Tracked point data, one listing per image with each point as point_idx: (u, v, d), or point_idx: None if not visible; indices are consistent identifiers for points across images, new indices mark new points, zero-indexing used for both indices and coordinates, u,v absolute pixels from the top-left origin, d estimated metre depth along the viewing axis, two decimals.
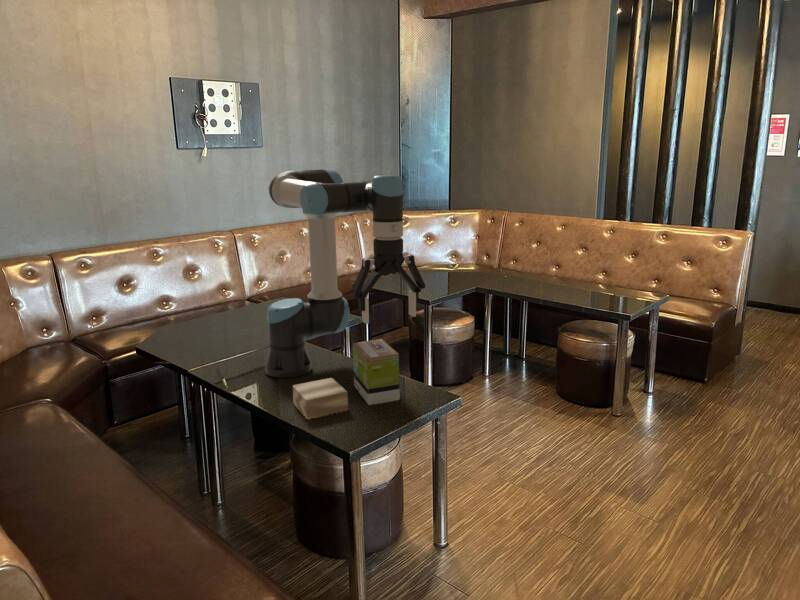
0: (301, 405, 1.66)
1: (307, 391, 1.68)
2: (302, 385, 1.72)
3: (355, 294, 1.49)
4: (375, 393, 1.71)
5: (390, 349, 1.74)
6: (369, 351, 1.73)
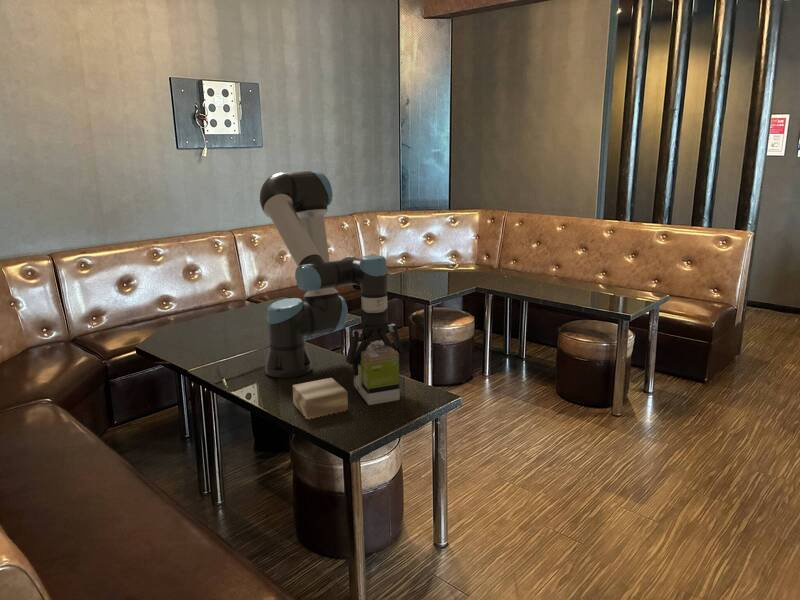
0: (301, 404, 1.66)
1: (307, 391, 1.68)
2: (302, 385, 1.72)
3: (349, 362, 1.72)
4: (375, 393, 1.71)
5: (390, 349, 1.74)
6: (369, 351, 1.73)
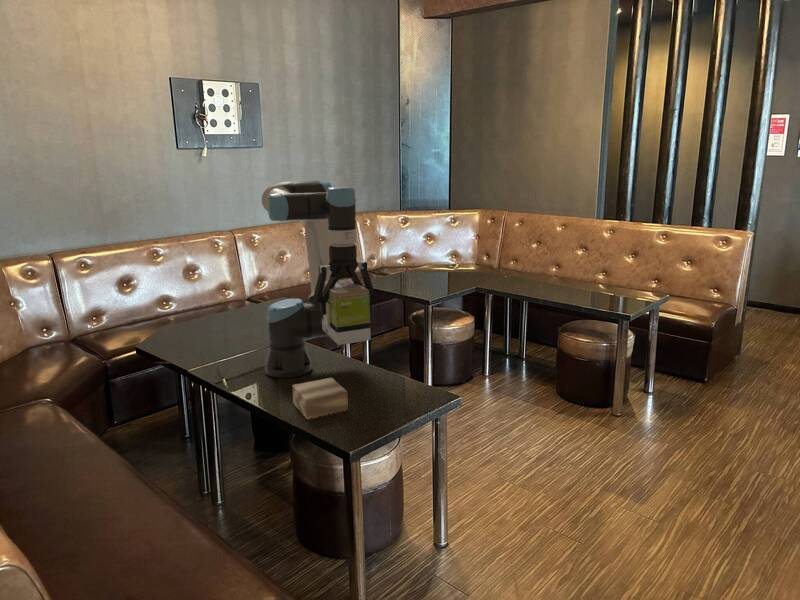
0: (301, 404, 1.66)
1: (307, 391, 1.68)
2: (302, 385, 1.72)
3: (317, 300, 1.62)
4: (345, 332, 1.62)
5: (360, 287, 1.65)
6: (338, 288, 1.63)
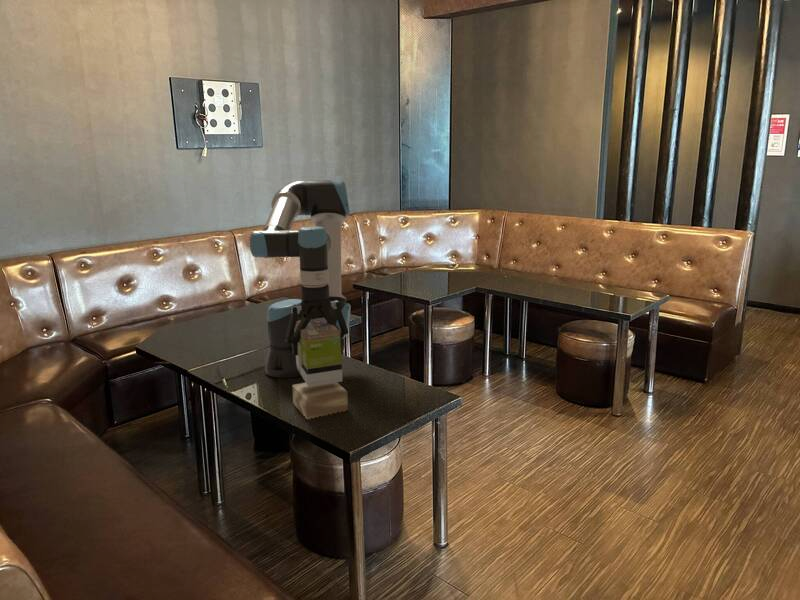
0: (301, 404, 1.66)
1: (307, 391, 1.68)
2: (302, 385, 1.72)
3: (288, 340, 1.61)
4: (315, 374, 1.60)
5: (332, 327, 1.63)
6: (309, 329, 1.62)
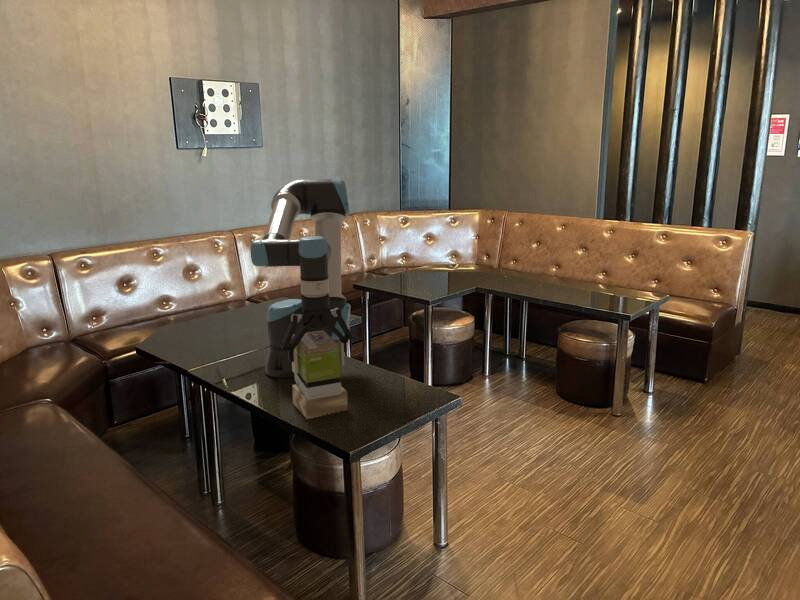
0: (301, 404, 1.67)
1: None
2: None
3: (283, 347, 1.61)
4: (315, 387, 1.61)
5: (330, 341, 1.64)
6: (308, 342, 1.63)
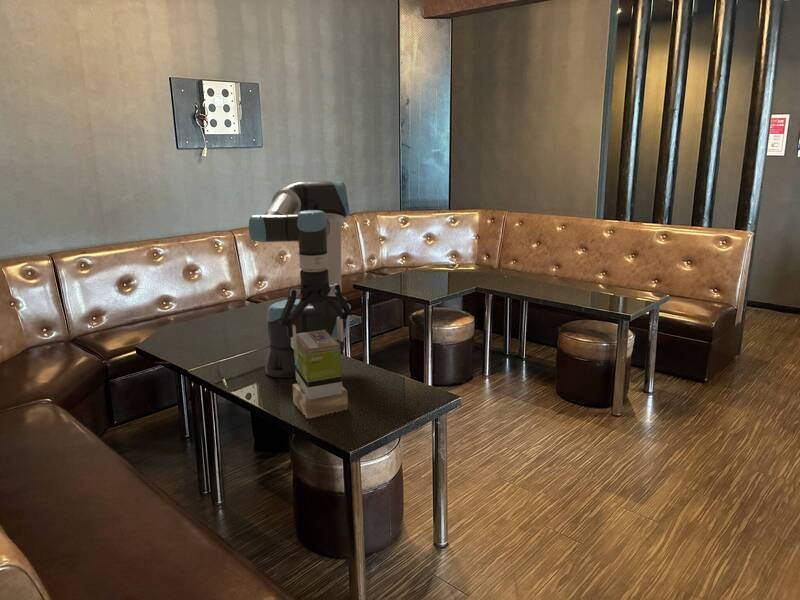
0: (301, 404, 1.67)
1: None
2: None
3: (282, 322, 1.59)
4: (316, 387, 1.62)
5: (331, 340, 1.64)
6: (309, 342, 1.63)
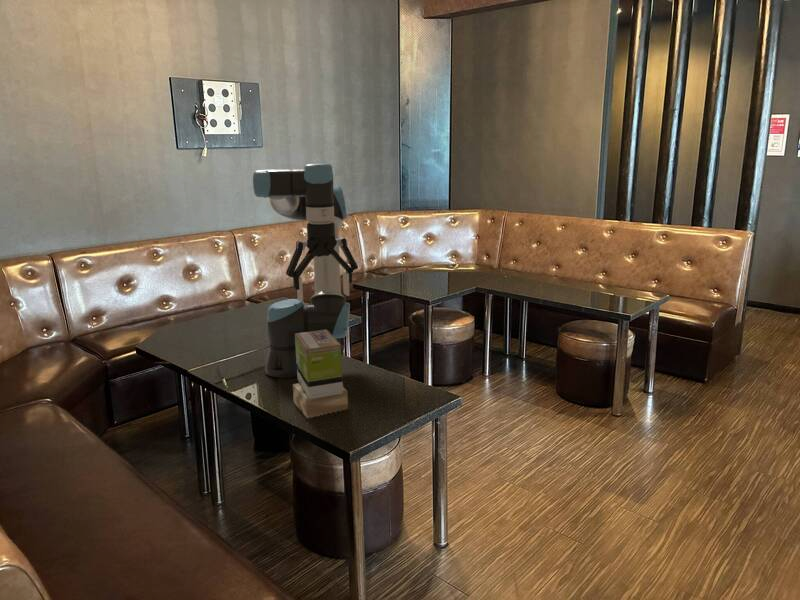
0: (301, 404, 1.67)
1: None
2: None
3: (289, 274, 1.62)
4: (316, 386, 1.62)
5: (332, 340, 1.65)
6: (310, 342, 1.63)
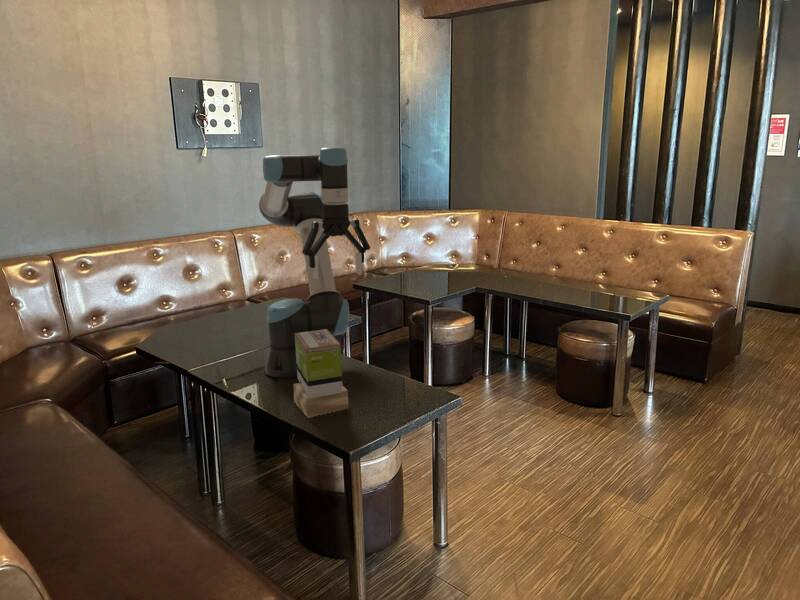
0: (302, 403, 1.67)
1: None
2: None
3: (305, 252, 1.69)
4: (316, 386, 1.63)
5: (332, 340, 1.65)
6: (310, 341, 1.64)
